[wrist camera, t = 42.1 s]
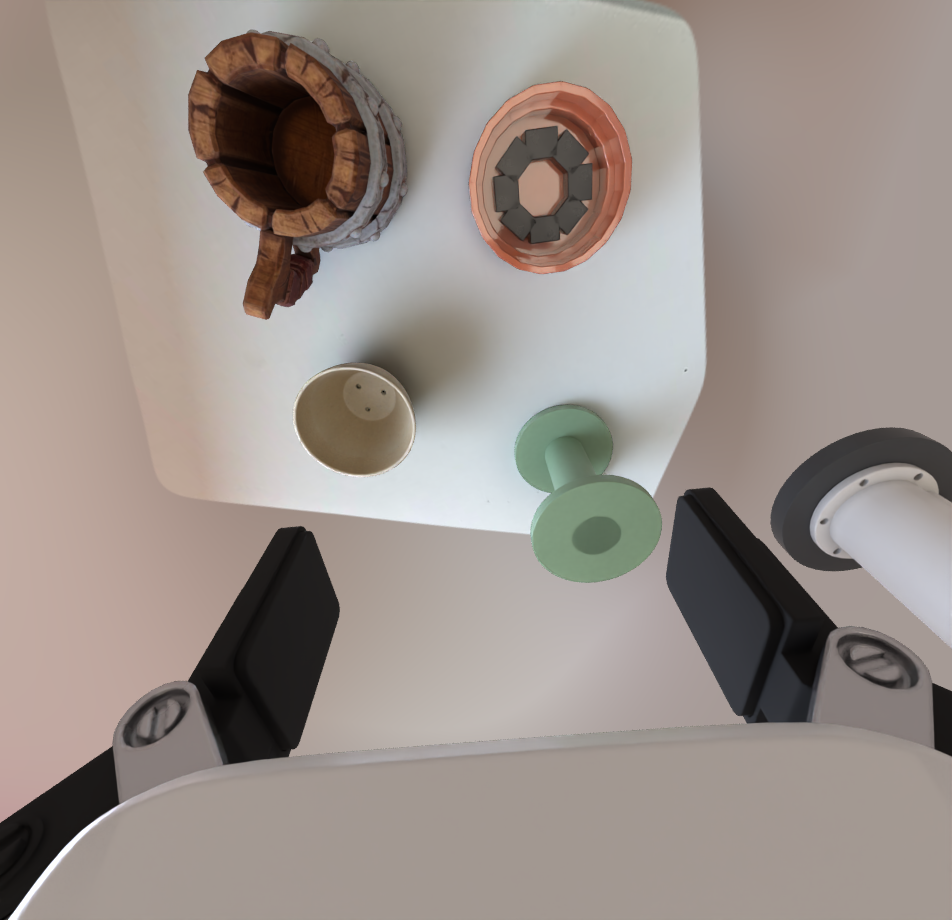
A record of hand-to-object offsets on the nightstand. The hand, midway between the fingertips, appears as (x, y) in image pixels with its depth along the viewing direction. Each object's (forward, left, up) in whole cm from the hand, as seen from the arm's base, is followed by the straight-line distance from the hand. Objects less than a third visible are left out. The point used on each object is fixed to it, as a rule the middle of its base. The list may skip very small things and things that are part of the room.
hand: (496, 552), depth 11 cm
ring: (-6, -8, -31) cm, 33 cm away
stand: (-7, +15, -32) cm, 36 cm away
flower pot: (+11, +7, -32) cm, 34 cm away
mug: (+10, -10, -32) cm, 35 cm away
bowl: (-6, -8, -32) cm, 33 cm away
